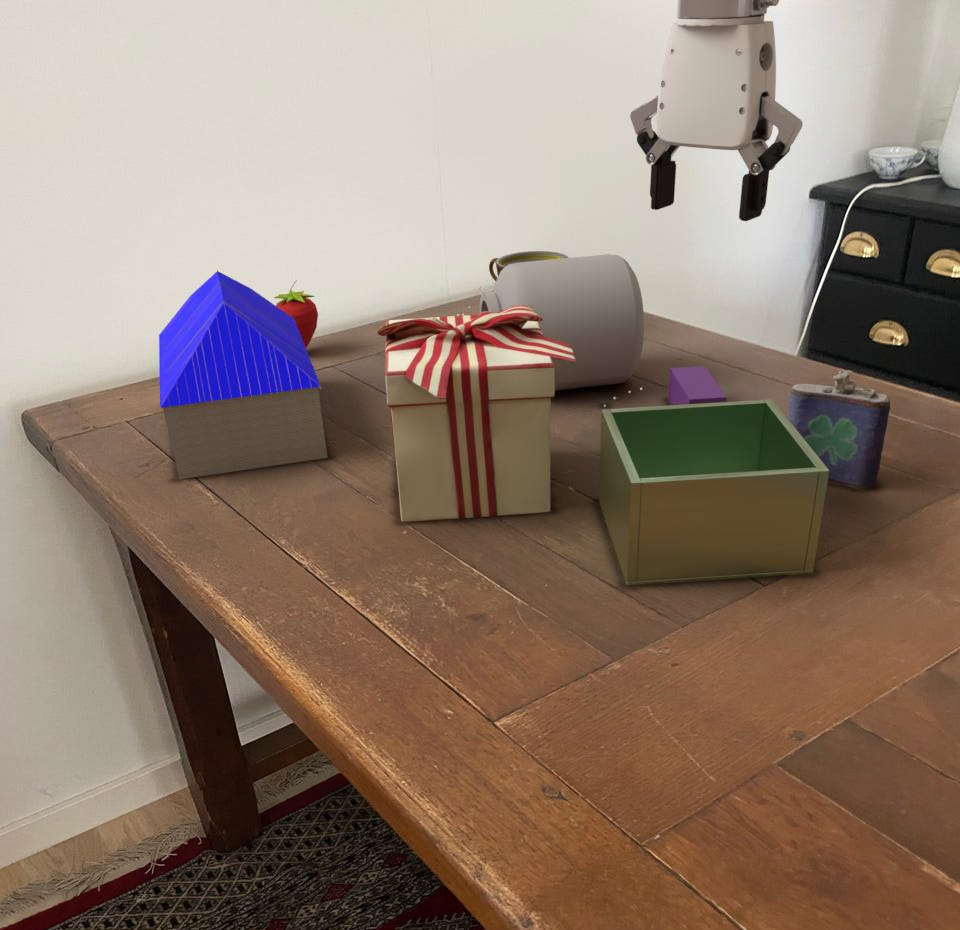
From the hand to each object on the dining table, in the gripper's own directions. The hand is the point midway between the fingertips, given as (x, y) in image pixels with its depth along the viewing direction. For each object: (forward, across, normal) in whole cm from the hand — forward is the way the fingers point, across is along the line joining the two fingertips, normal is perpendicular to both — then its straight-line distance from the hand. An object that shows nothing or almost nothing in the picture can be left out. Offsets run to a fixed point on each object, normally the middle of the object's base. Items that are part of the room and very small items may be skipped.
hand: (705, 212), depth 99 cm
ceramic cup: (+23, +37, -18) cm, 47 cm away
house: (+23, +42, +28) cm, 55 cm away
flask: (+23, -17, +2) cm, 28 cm away
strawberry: (+23, +56, +7) cm, 61 cm away
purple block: (+23, +2, -4) cm, 23 cm away
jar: (+23, +21, 0) cm, 31 cm away
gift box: (+23, +9, +25) cm, 35 cm away
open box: (+22, -13, +20) cm, 33 cm away
